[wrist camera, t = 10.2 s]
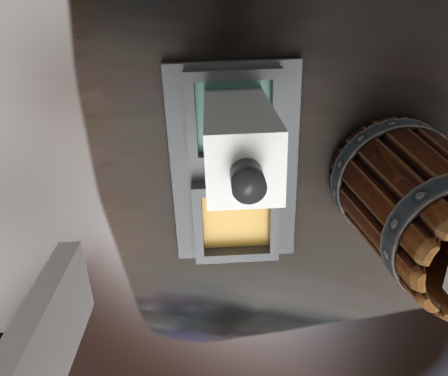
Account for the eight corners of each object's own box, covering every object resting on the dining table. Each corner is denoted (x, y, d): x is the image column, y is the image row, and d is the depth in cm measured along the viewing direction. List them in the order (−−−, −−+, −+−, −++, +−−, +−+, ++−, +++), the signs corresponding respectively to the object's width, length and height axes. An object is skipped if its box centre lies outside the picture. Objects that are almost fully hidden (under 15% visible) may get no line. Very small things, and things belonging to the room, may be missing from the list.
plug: (204, 88, 32) (202, 148, 20) (261, 86, 32) (295, 144, 20) (207, 151, 35) (207, 241, 22) (260, 149, 35) (291, 237, 22)
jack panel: (161, 63, 32) (158, 67, 30) (300, 57, 33) (307, 61, 30) (179, 253, 40) (177, 268, 38) (291, 248, 40) (296, 263, 38)
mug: (302, 168, 37) (358, 269, 23) (403, 87, 34) (534, 148, 20) (395, 271, 42) (485, 403, 28) (489, 209, 39) (639, 321, 26)
